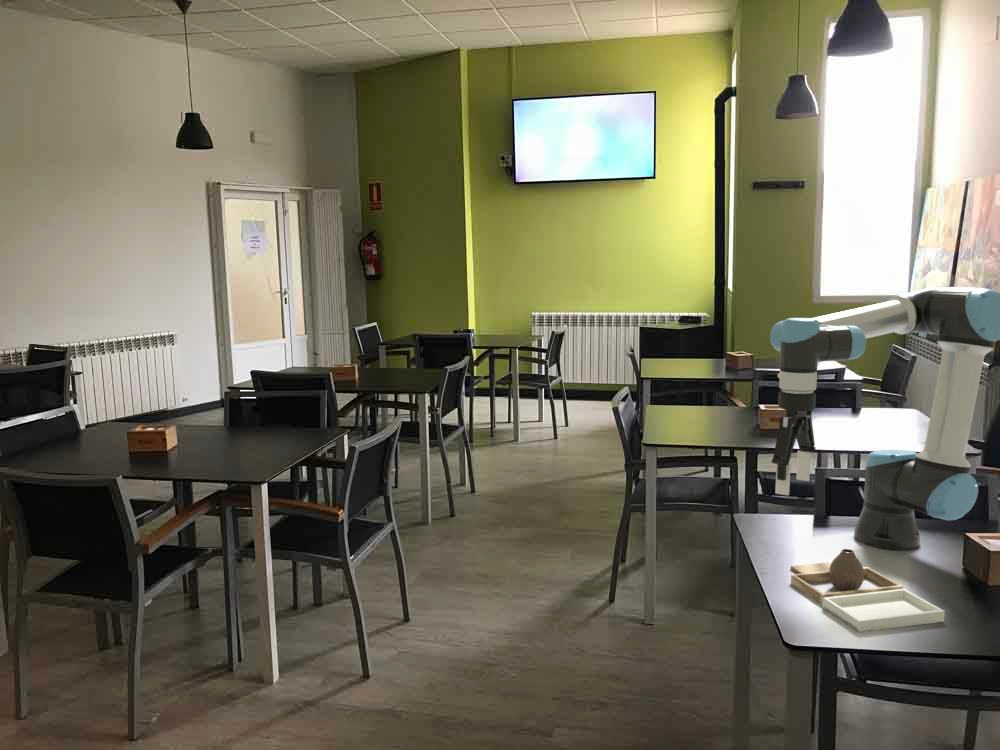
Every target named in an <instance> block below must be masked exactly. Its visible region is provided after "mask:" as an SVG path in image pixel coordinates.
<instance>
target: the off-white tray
mask: <svg viewBox="0 0 1000 750" xmlns="http://www.w3.org/2000/svg"><path fill="white" fill-rule="evenodd" d="M822 609H824V610H825V611H826V612H828V613H830V614H831V615H832V616H834V617H835V618H837V619H838V620H839V621H841V622H843V624H846V625H847V626H849V627H851V628H852V629H854V630H855V631H856V630H857V631H856V632H858V633H860V632H861V633H862V632H869V631H868V630H871V631H877V630H887V629H895V628H904V627H910V626H919V625H927V624H934V623H944V622H945V616H946V615H945V614H946V613H945V612H946V611H945V610H944V609H942V608H940V607H939V606H937V605H934V604H933V603H931V602H929V601H927V600H926V599H924V598H922V597H920V596H918V595H916V594H915V593H913V592H912V591H909V590H908V589H905V588H903V589H897V590H888V591H879V592H870V593H861V594H852V595H843V596H834V597H825V598H823V604H822Z"/></svg>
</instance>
